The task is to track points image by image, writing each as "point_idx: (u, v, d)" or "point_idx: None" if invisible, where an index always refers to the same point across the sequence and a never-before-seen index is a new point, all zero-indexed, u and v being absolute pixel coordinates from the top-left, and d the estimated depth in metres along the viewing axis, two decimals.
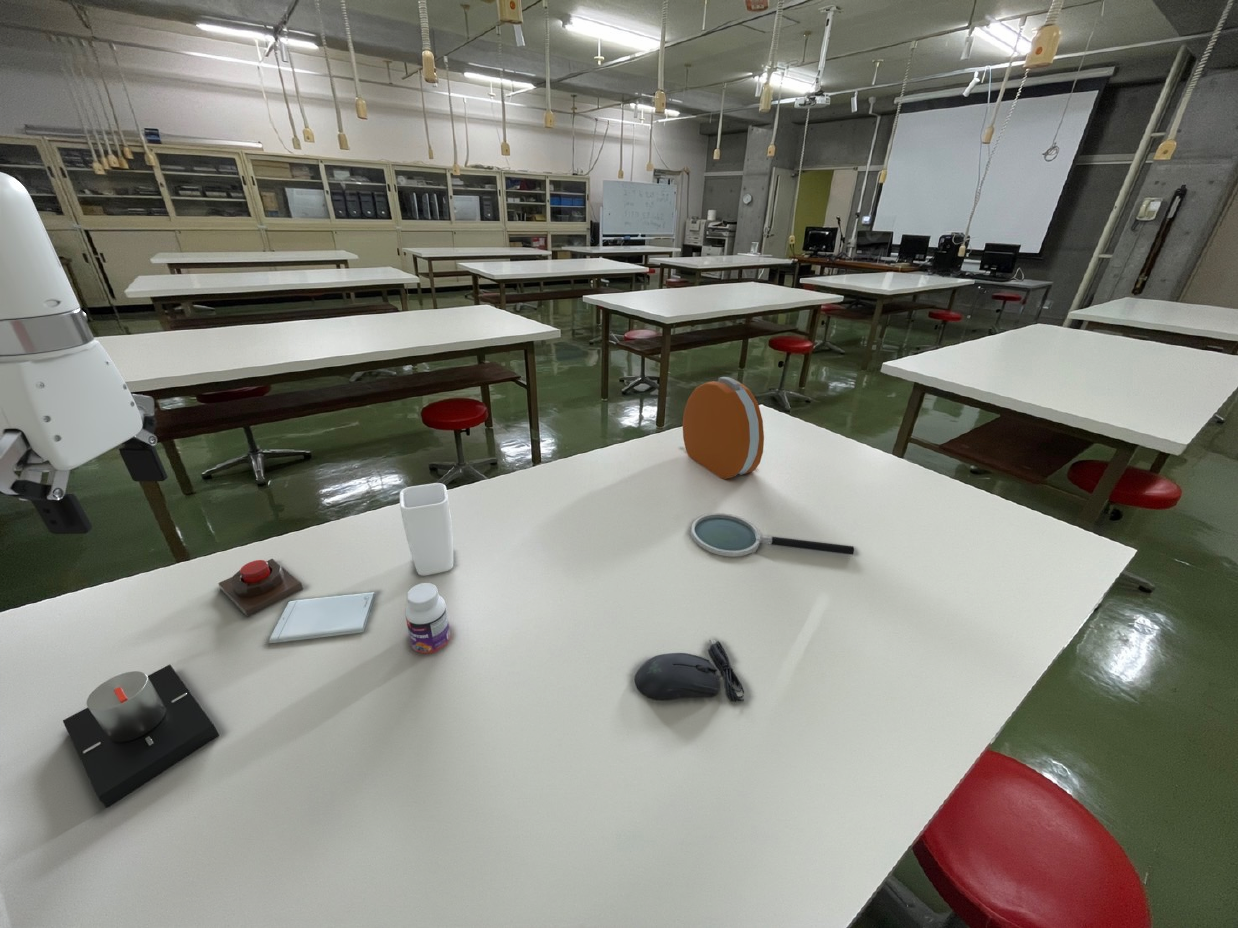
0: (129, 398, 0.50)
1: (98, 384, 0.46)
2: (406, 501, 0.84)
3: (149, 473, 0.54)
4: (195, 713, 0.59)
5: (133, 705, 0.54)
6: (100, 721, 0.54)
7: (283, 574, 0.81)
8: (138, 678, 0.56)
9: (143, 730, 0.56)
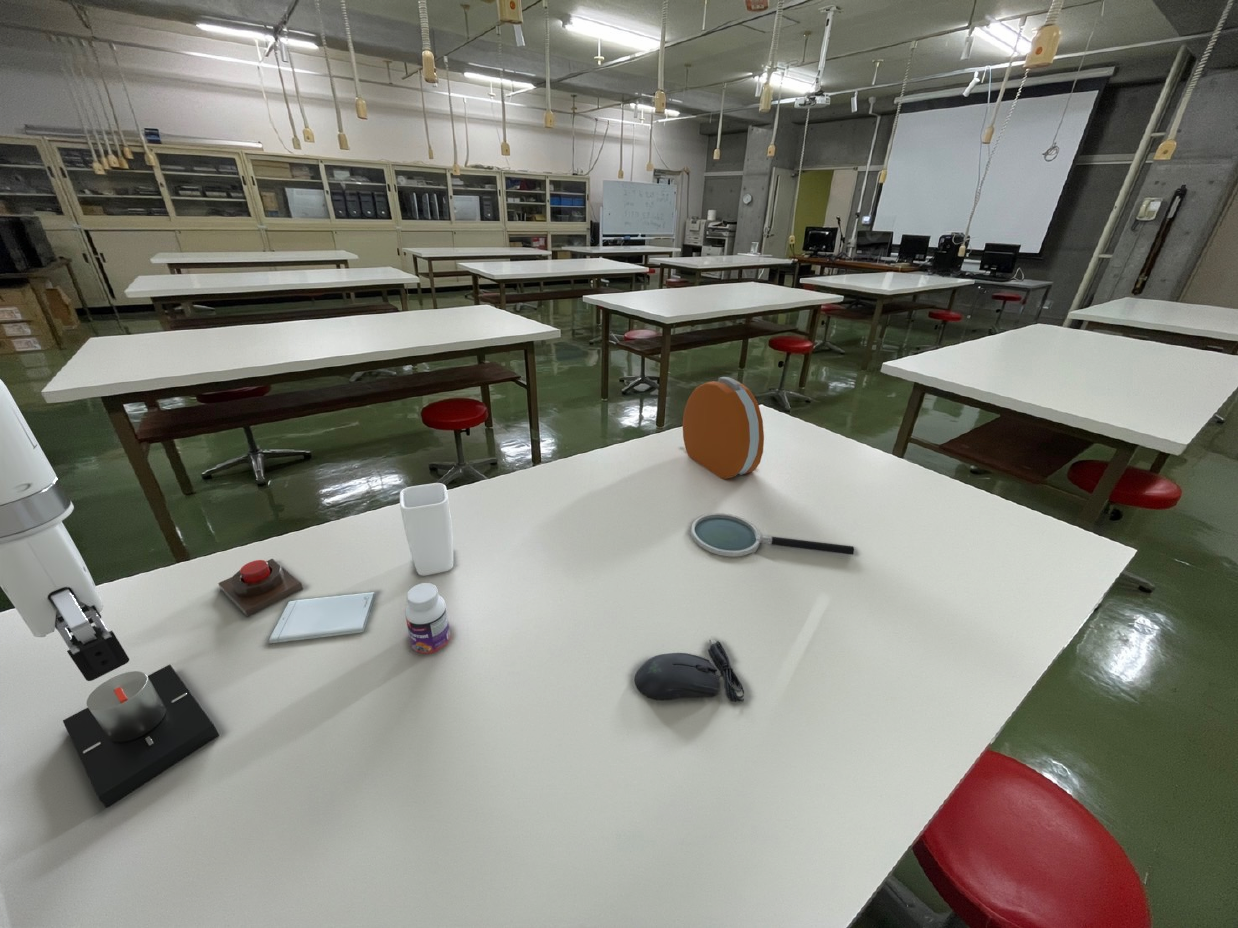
0: None
1: None
2: (406, 501, 0.84)
3: None
4: (195, 713, 0.59)
5: (133, 705, 0.54)
6: (100, 721, 0.54)
7: (283, 574, 0.81)
8: (138, 678, 0.56)
9: (143, 730, 0.56)
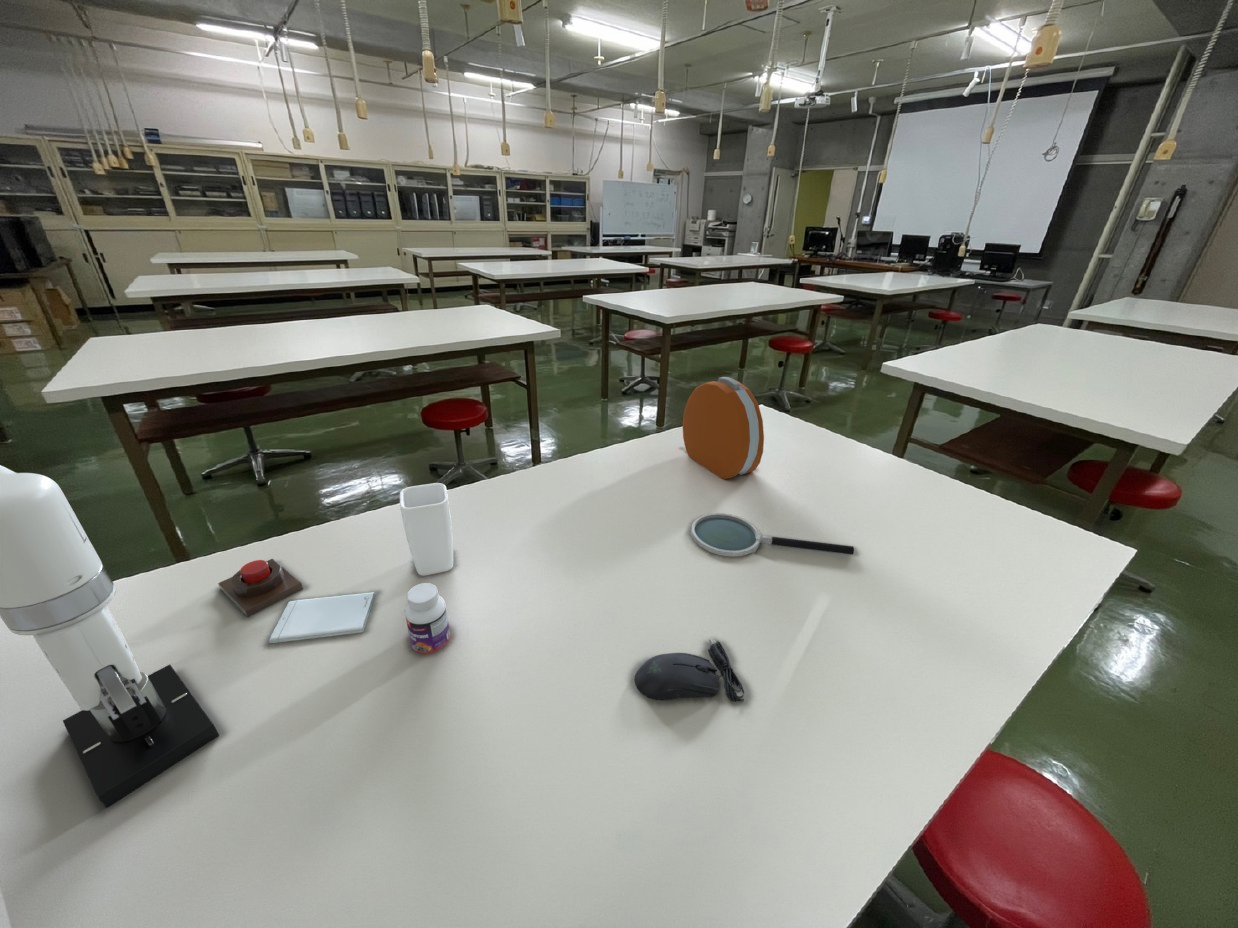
0: None
1: None
2: (406, 501, 0.84)
3: None
4: (195, 713, 0.59)
5: None
6: (100, 721, 0.54)
7: (283, 574, 0.81)
8: None
9: None
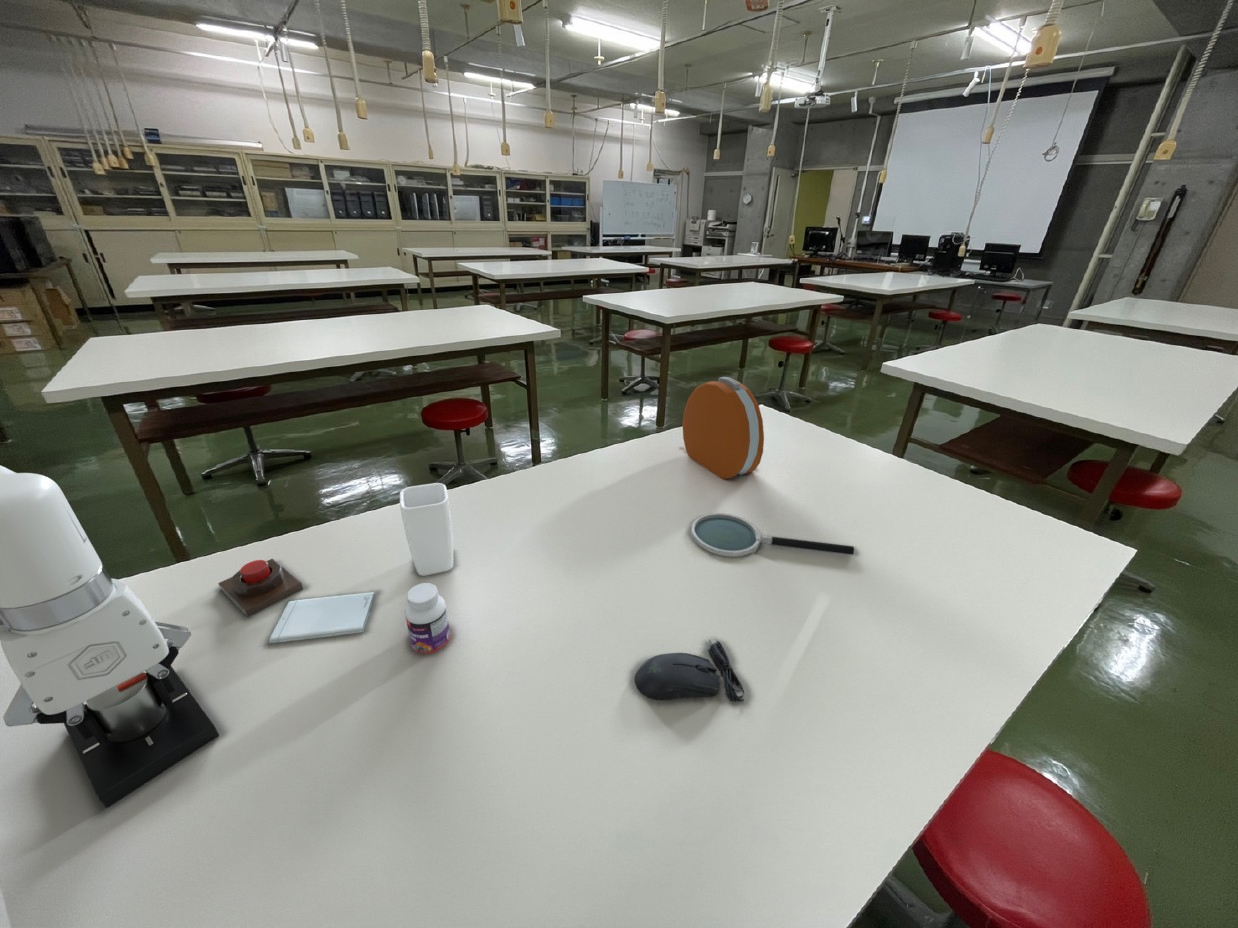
0: None
1: None
2: (406, 501, 0.84)
3: None
4: (195, 713, 0.59)
5: (148, 679, 0.57)
6: (143, 706, 0.55)
7: (283, 574, 0.81)
8: None
9: (162, 703, 0.59)
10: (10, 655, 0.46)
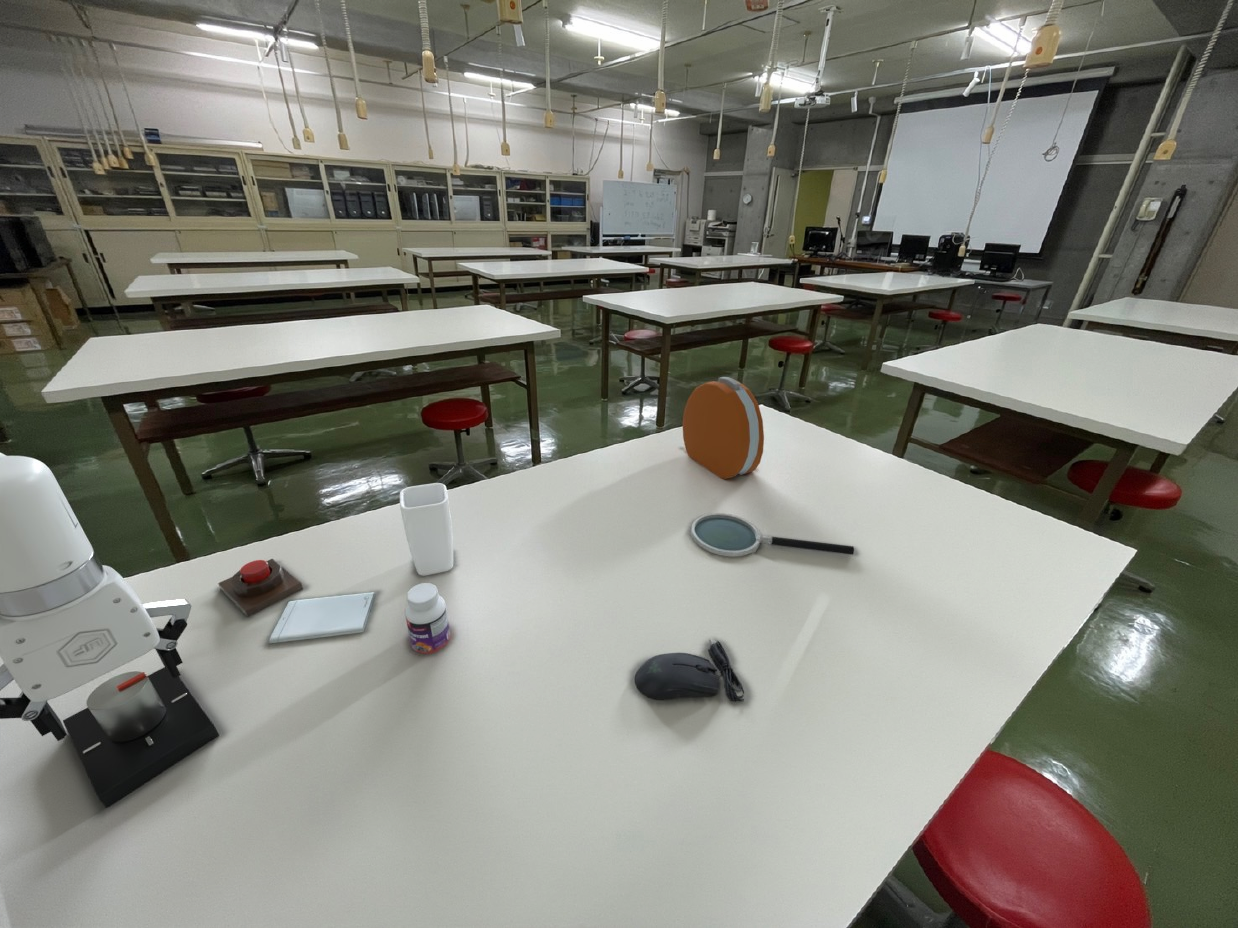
0: None
1: None
2: (406, 501, 0.84)
3: (58, 719, 0.52)
4: (195, 713, 0.59)
5: (148, 678, 0.57)
6: (144, 705, 0.56)
7: (283, 574, 0.81)
8: (110, 682, 0.56)
9: (162, 702, 0.59)
10: None
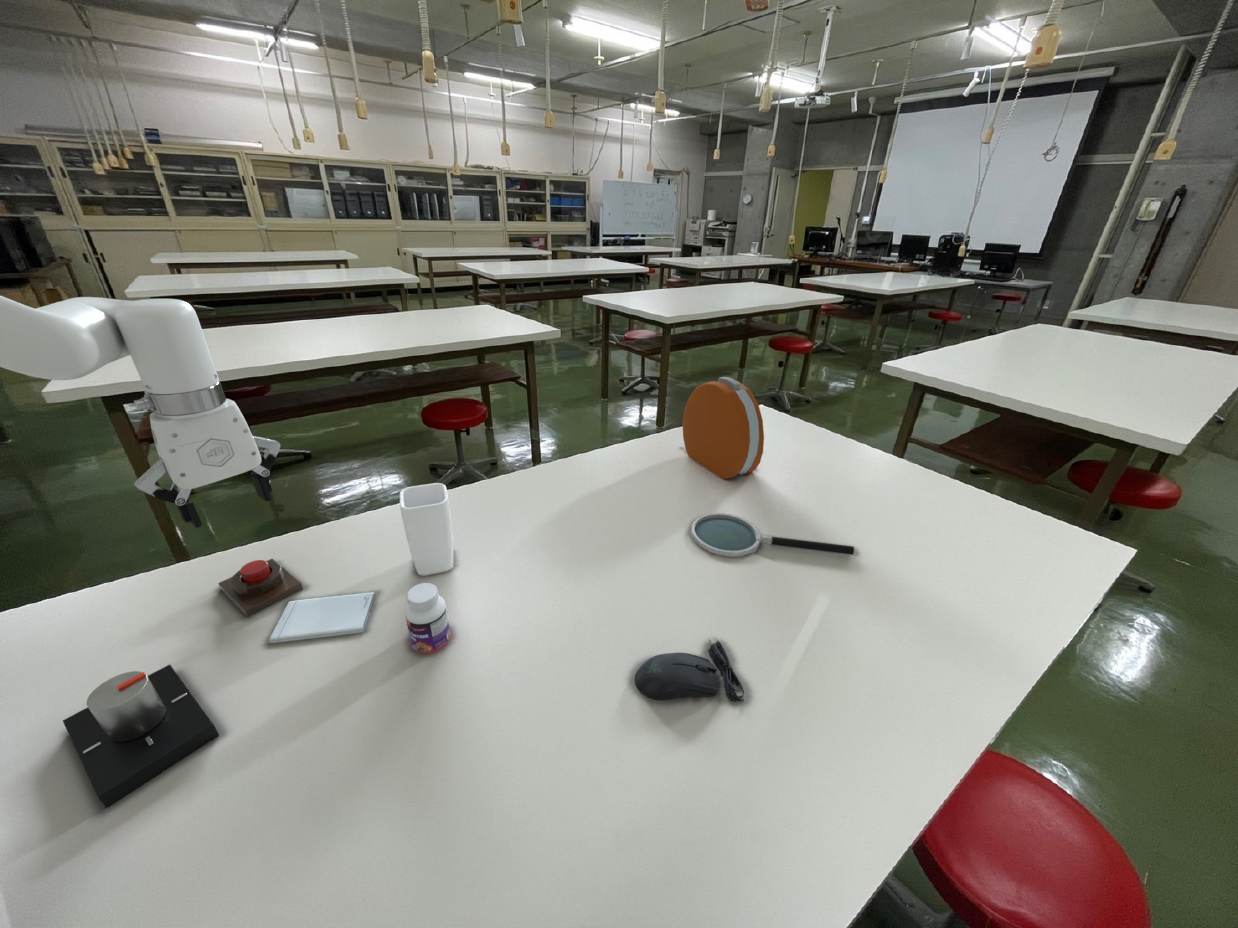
0: None
1: None
2: (406, 501, 0.84)
3: None
4: (195, 713, 0.59)
5: (148, 678, 0.57)
6: (144, 705, 0.56)
7: (283, 574, 0.81)
8: (110, 682, 0.56)
9: (162, 702, 0.59)
10: (160, 433, 0.62)
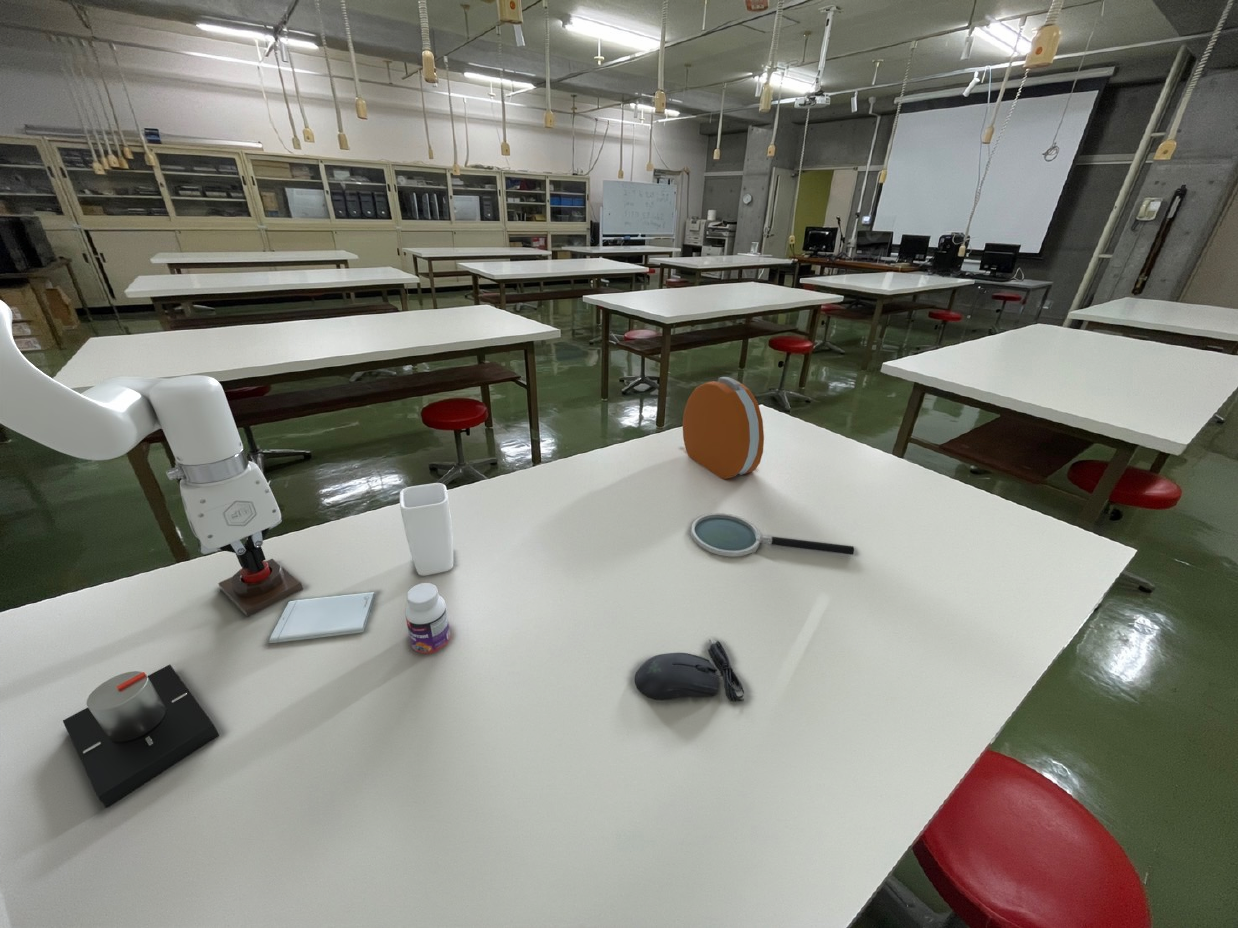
0: None
1: None
2: (406, 501, 0.84)
3: None
4: (195, 713, 0.59)
5: (148, 678, 0.57)
6: (144, 705, 0.56)
7: (283, 574, 0.81)
8: (110, 682, 0.56)
9: (162, 702, 0.59)
10: (189, 500, 0.67)
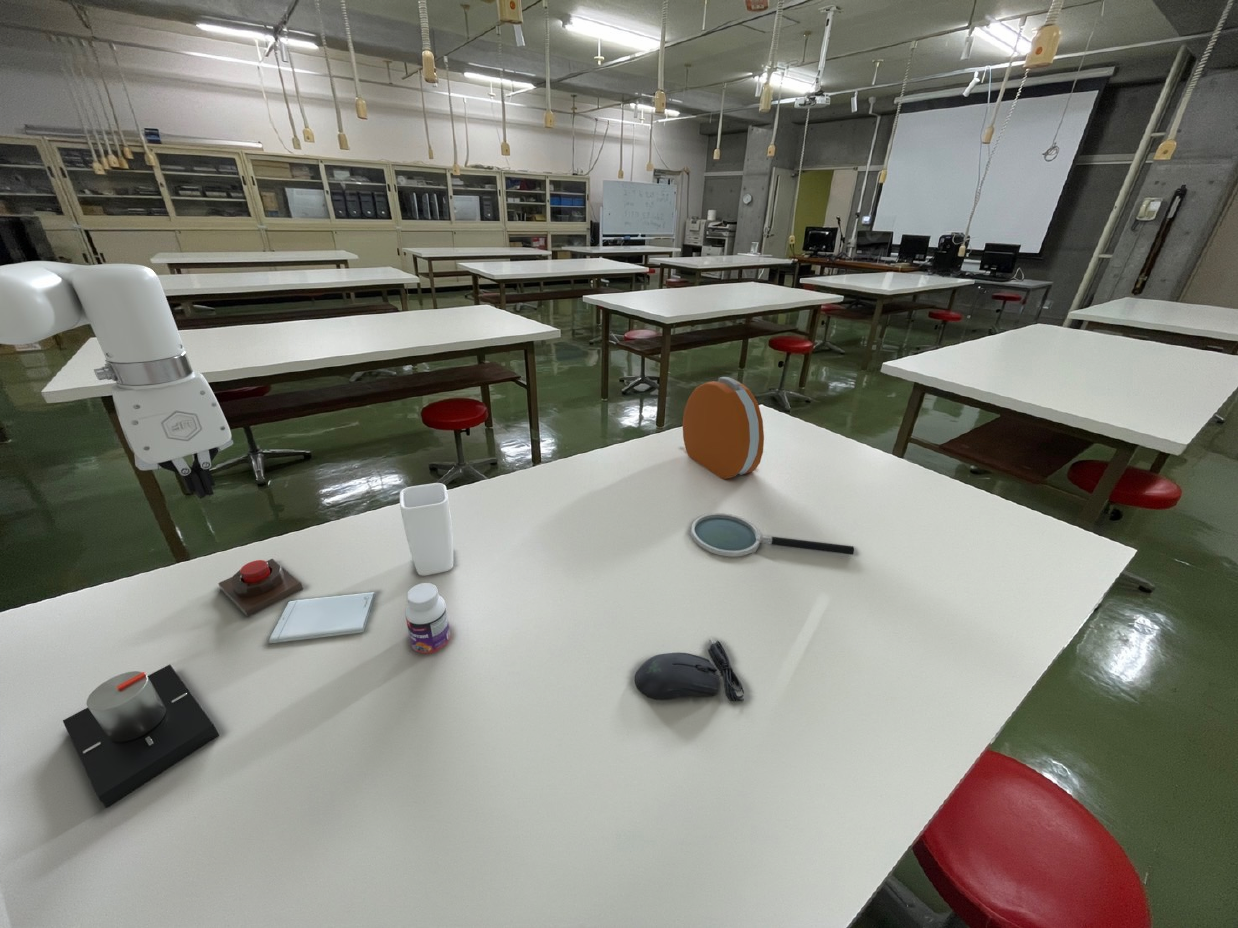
0: None
1: None
2: (406, 501, 0.84)
3: None
4: (195, 713, 0.59)
5: (148, 678, 0.57)
6: (144, 705, 0.56)
7: (283, 574, 0.81)
8: (110, 682, 0.56)
9: (162, 702, 0.59)
10: (121, 404, 0.60)
